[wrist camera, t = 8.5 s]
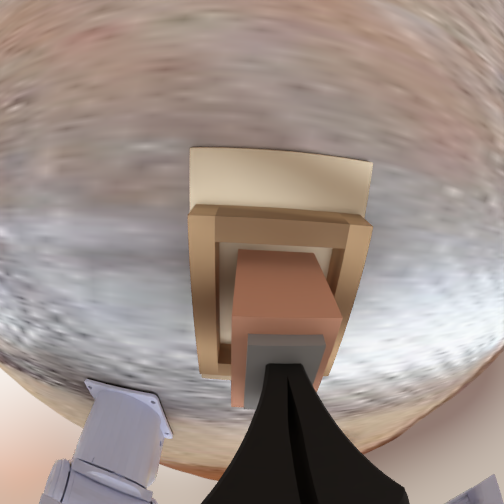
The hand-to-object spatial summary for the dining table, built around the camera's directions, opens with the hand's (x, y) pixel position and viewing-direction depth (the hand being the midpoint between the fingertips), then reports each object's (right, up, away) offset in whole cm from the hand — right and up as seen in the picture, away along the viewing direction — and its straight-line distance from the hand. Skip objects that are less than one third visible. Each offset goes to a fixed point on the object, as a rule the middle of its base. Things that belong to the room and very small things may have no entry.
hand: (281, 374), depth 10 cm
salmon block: (0, +2, +5) cm, 6 cm away
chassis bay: (0, +3, +6) cm, 6 cm away
